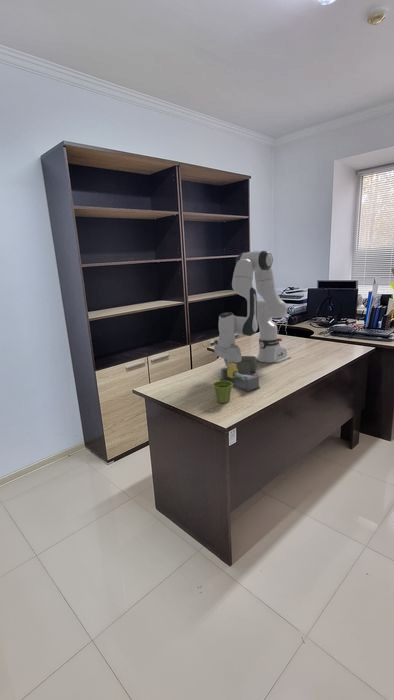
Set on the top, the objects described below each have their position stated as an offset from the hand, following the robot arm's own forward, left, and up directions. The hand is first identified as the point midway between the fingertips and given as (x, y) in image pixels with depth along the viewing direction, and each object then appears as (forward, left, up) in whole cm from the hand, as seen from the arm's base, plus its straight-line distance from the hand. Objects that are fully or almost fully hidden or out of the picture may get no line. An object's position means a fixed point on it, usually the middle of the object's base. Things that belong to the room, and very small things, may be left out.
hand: (228, 366), depth 193 cm
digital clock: (-14, -4, -8) cm, 16 cm away
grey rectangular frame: (0, +9, -8) cm, 12 cm away
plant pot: (+20, +21, -8) cm, 30 cm away
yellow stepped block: (0, +4, -5) cm, 6 cm away
